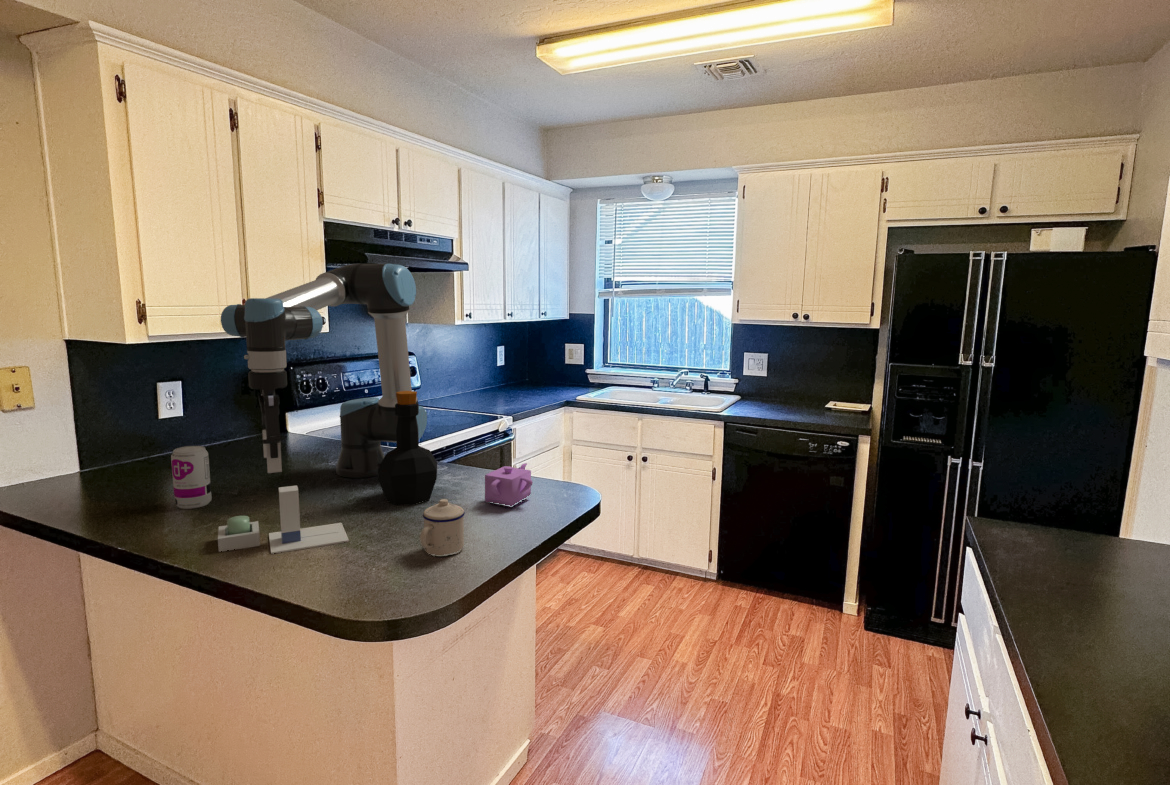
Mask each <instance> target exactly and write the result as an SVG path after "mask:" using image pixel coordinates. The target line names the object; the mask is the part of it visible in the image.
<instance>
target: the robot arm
mask: <svg viewBox="0 0 1170 785" xmlns="http://www.w3.org/2000/svg"><path fill="white" fill-rule="evenodd" d="M416 296H417V286H416V282H415V279H414V277H413V274H412V273H411V271H410V270H409V269H408V268H407V267H405V266H403V265H401V264H395V263H360V262H359V263H352V264H347V265H343V266H340V267H336V268H334V269H331V270H327V271H326V272H325V271H324V272H322V273H320V274H319V275H318V276H316V278H315V280H311V281H309V282H306V283H303V284H301V285H298V286H296V287H293V288H289V289H287V290H285V291H281V292H279V293H276V294H274V295H271V296H268V297H266V298H265V297H264V298H263V297H262V298H261V297H260V298H258V297H251V298H248V299H246V300H245V302H244V304H241V303H237V304H230V305H227V306H226V307H224V309H223V310H222V312H221V314H220V324H221V328H222V330H223V331H224V332H225V333H226V334H228V335H229V336H233V337H240V338H246V339H245V340H246V353H247V354H244V356H243V358H244V360H247V368H248V369H249V372H248V374H247V379H248V387H249V388H250V389H252V390H256V391H257V390H259V391H260V395H258V403H259V410H260V412H261V422H260V423H261V428H262V430H261V431H262V445H263V446H262V449H263V458H264V459H266V465H267V466H266V467H267V468H266V469H267V474H272V473H282V472H283V468H282V450H281V449H282V448H281V447H282V444H281V441H282V437H281V430H280V428H281V427H280V416H279V415H280V405H281V404H280V403H281V400H280V396H279V394H276V390H277V389H279V390H280V389H284V388H286V387H287V386H288V372H287V371H286V370H285V369H286V368H287V365H288V364H287V350H286V342H287V341H295V340H308V339H312V338H315V337H317V336H319V335H320V333H321V332H322V329H323V327H324V326H323V324H324V323H323V322H324V321H323V318H322V315H321V314H320V312H319V310H321V309H324V308H326V307H328V306H329V307H337V306H340V305H348V304H349V305H350V304H355V305H366V306H367V307H366V308H367V313H368V314H369V315H370V316H371V317H373V318H374V319H373V320H374V328H375V329H374V330H375V338H376V348H377V356H378V364H379V365H378V367H379V375H380V376H379V377H380V382H381V383H380V384H381V392H382V396H381V397H380V398H379V397H363V398H355V399H351V400H347V401H345V402H343V403H341V404H340V406H339V407H340V411H339V412H340V413H339V419H340V420H339V421H340V438H341V439H340V442H341V443H340V444H341V450H340V452H339V455H338V456H339V457H338V459H337V463H336V466H335V467H336V470H335V471H336V474H337V475H338V476H339V477H342V478H349V479H352V478H353V479H361V478H370V477H371V478H372V477H376V476H378V468H379V466H380V464H381V462H382V461H383V459H384V457H385V455H384V451H383V448H382V444H381V443H382V442H386V443H396V444H397V440H396V429H397V422H398V416H397V415H395V404H396V403H397V396H396V392H400V391H413V390H412V379H411V378H412V377H411V370H410V369H411V368H410V359H409V347H408V346H409V345H408V336H407V327H406V315H407V314H408V313H409V312H410V306H412V305H413V304H414V302H415V300H416ZM416 403H419V400H418V397H416ZM416 418H417V424H418V433H419V440H421V438H422V437H423V435H424V433H425V430H426V427H427V424H428V413H427V409H426V408H425V407H424V406H421V405H419V414H418V415H417V416H416Z"/></svg>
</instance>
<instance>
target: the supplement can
mask: <svg viewBox="0 0 1170 785" xmlns="http://www.w3.org/2000/svg"><path fill="white" fill-rule="evenodd" d="M170 461H171V462H170V464H171V472H172V473H171V474H172V487H173V496H174V505H175V507H177V508H179V509H182V510H190V509H198V508H202V507H205V506H207V505H209V504H210V502H212V500H213V499H212V486H211V474H210V470H211V469H210V459H209V452H208V451H207V450H206V447H205V446H202V445H186V446H182V447H177V448H175V449H173V451H172V453H171V455H170Z"/></svg>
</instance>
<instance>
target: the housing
mask: <svg viewBox="0 0 1170 785" xmlns="http://www.w3.org/2000/svg"><path fill="white" fill-rule="evenodd" d="M249 522H250V532H248V533H241V534H234V535H228V529H227V524H226V525H220V526H218V534H217V546H218V553H221V551H222V552H228V551H227V550H229V551H235V550H240V549H241V550H242V549H248V548H254V547H259V546H261V541H260V540H261V539H260V527H259V520H256V521H249ZM234 549H235V550H234Z"/></svg>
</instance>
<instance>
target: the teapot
mask: <svg viewBox="0 0 1170 785" xmlns="http://www.w3.org/2000/svg"><path fill="white" fill-rule="evenodd" d="M527 465H528V463H522V464H521V465H520V467H519V468H518V467H513V466H509V465H508V466H506V465H504V466H502V467H500V468H498V469H495V470H491V471H490V472H488V473H486V474H485V475H484V502H485V501H486V502H493V503H499V504H505V505H510V506H512V505H514V504H515V503H517V502H519V501H520V500H522V499H524V498H526V497H527V496H529V495H530V494H531V495H532V493H531V491H532V486H533V483H534V482H533V480H532V471H531V470H530V469H526V466H527Z"/></svg>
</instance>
